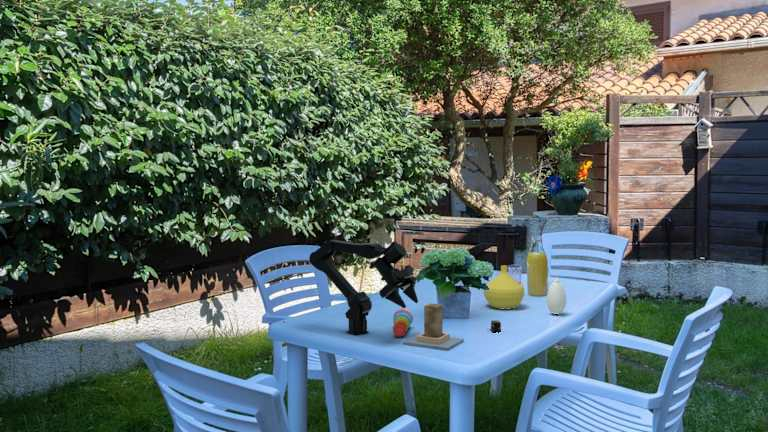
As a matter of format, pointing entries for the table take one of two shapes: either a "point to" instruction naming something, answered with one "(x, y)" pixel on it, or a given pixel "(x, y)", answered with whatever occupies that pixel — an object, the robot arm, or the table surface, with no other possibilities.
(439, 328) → the walnut pillar
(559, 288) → the sauce bottle
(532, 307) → the table surface
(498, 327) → the black block on base
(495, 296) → the vase
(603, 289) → the table surface
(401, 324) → the stacking toy
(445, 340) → the grey board with frame
